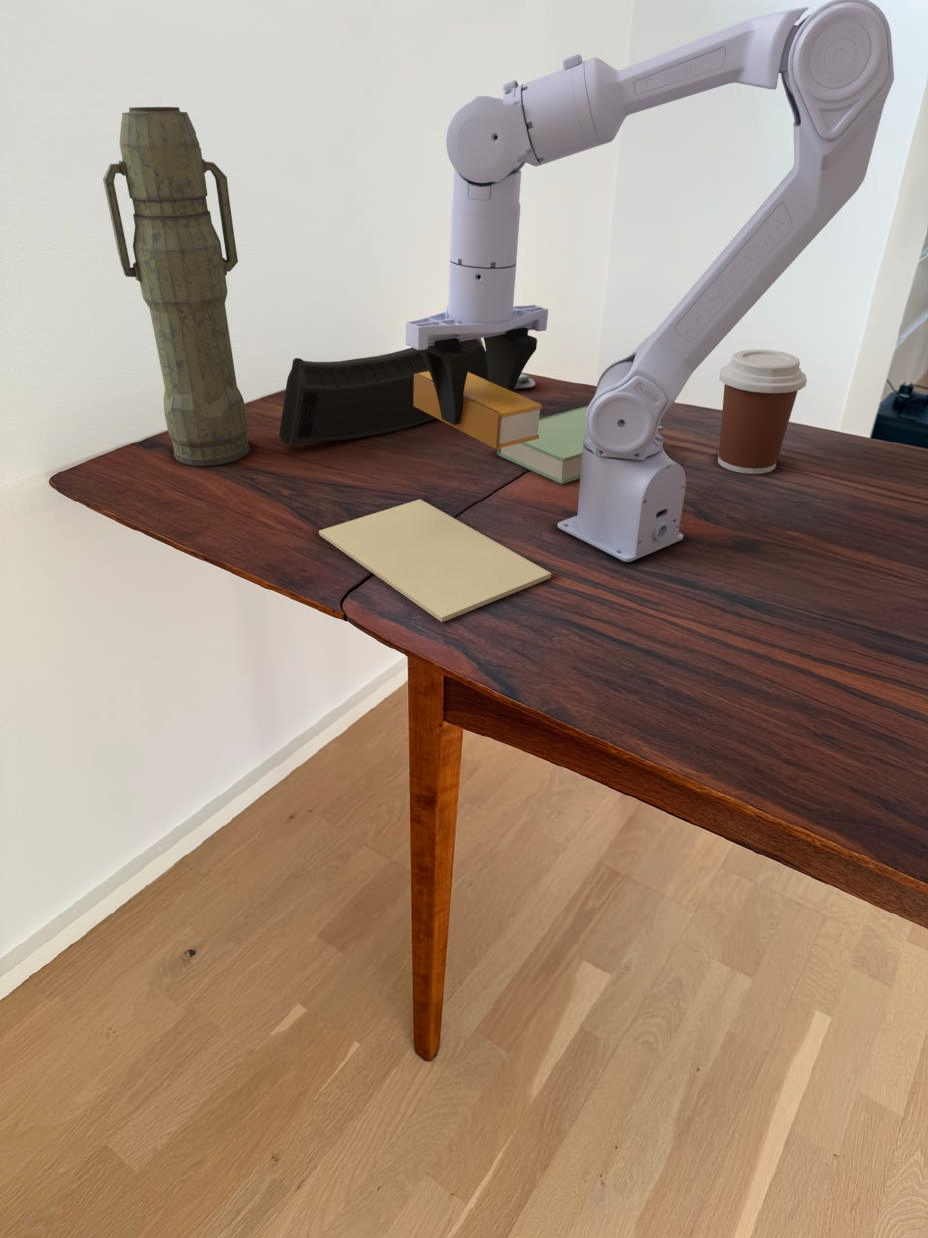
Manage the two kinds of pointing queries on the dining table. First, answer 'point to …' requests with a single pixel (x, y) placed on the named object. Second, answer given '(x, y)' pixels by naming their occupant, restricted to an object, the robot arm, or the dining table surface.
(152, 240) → the green canister
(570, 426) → the hardback
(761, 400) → the coffee cup (beverage)
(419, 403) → the pocket book
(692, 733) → the dining table surface
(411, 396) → the magazine
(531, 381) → the pacifier
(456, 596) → the mat
